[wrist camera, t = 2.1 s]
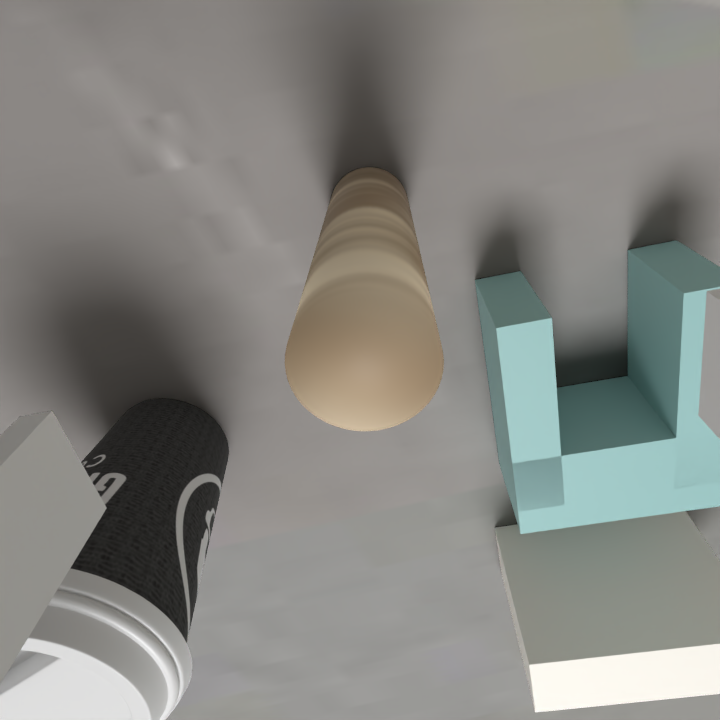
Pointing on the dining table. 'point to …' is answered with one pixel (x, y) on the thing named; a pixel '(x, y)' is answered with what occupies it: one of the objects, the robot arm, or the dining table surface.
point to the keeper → (604, 401)
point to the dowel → (365, 312)
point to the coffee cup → (128, 577)
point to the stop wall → (614, 611)
